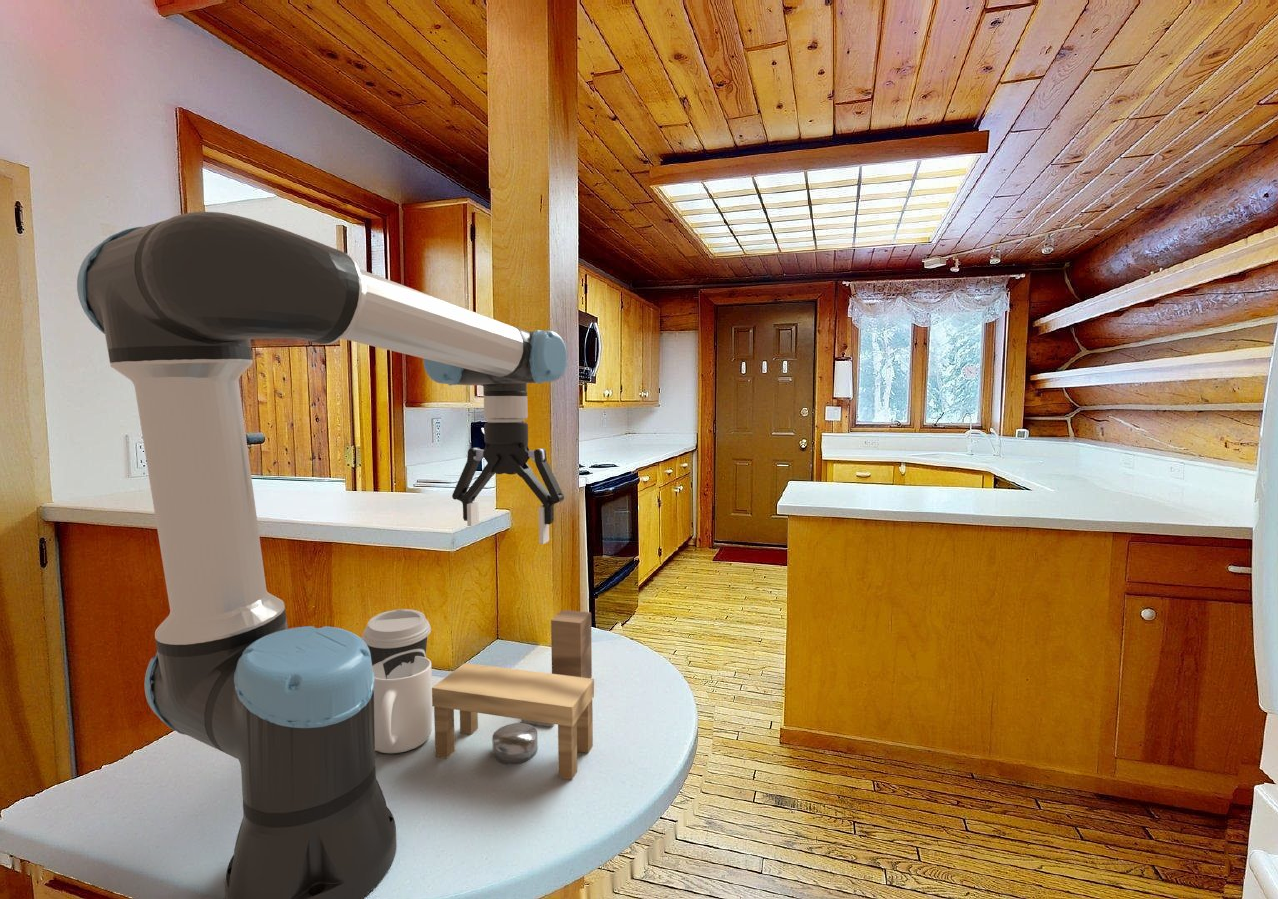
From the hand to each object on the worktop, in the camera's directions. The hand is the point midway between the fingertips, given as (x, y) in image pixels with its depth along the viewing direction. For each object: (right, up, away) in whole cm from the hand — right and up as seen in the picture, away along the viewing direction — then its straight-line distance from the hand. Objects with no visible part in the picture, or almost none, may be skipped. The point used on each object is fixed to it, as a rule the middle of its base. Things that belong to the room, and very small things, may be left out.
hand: (508, 540), depth 104 cm
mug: (-10, -25, -23) cm, 36 cm away
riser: (+6, -25, -24) cm, 35 cm away
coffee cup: (-14, -24, -15) cm, 31 cm away
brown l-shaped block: (+10, -24, -10) cm, 28 cm away
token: (+6, -25, -24) cm, 35 cm away
